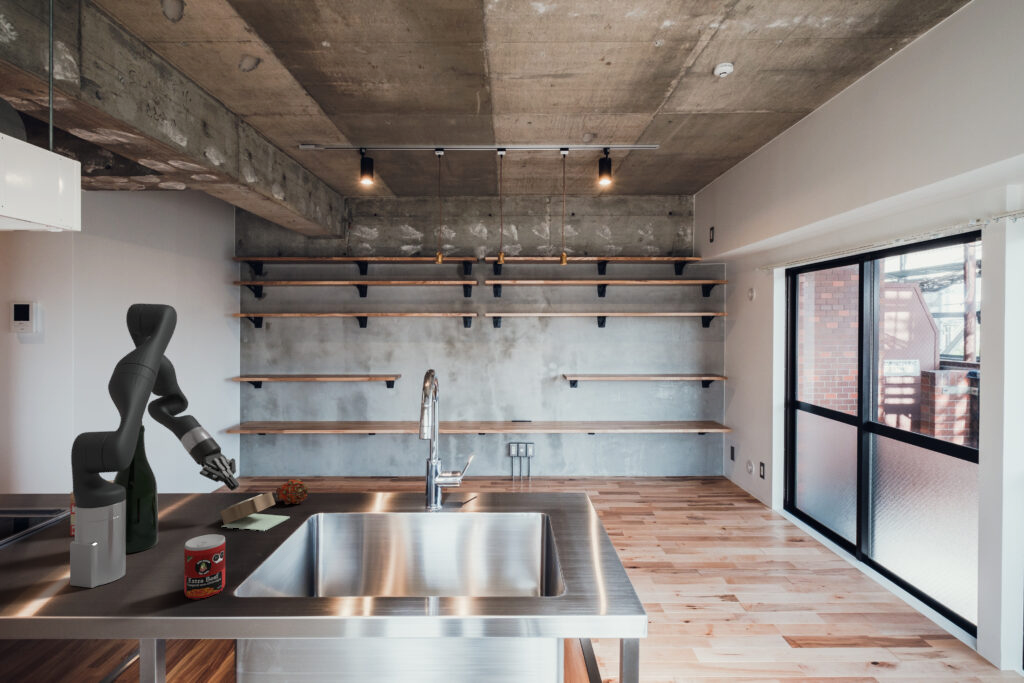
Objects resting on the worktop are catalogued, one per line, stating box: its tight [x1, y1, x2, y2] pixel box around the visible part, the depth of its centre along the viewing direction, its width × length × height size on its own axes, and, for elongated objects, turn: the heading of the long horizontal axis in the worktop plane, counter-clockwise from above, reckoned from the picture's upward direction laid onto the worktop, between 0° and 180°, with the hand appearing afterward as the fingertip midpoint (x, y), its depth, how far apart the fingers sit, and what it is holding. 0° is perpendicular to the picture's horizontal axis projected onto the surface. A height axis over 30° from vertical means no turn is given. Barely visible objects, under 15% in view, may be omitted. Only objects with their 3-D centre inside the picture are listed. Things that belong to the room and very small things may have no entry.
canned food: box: [183, 533, 226, 600], centre depth 118 cm, size 8×8×11 cm
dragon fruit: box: [275, 478, 311, 505], centre depth 182 cm, size 8×8×12 cm
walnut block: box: [219, 491, 276, 525], centre depth 163 cm, size 8×4×12 cm
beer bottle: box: [113, 421, 159, 554], centre depth 142 cm, size 10×10×33 cm
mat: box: [221, 513, 291, 532], centre depth 162 cm, size 12×14×1 cm
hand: (235, 488), depth 163 cm, fingers closed
